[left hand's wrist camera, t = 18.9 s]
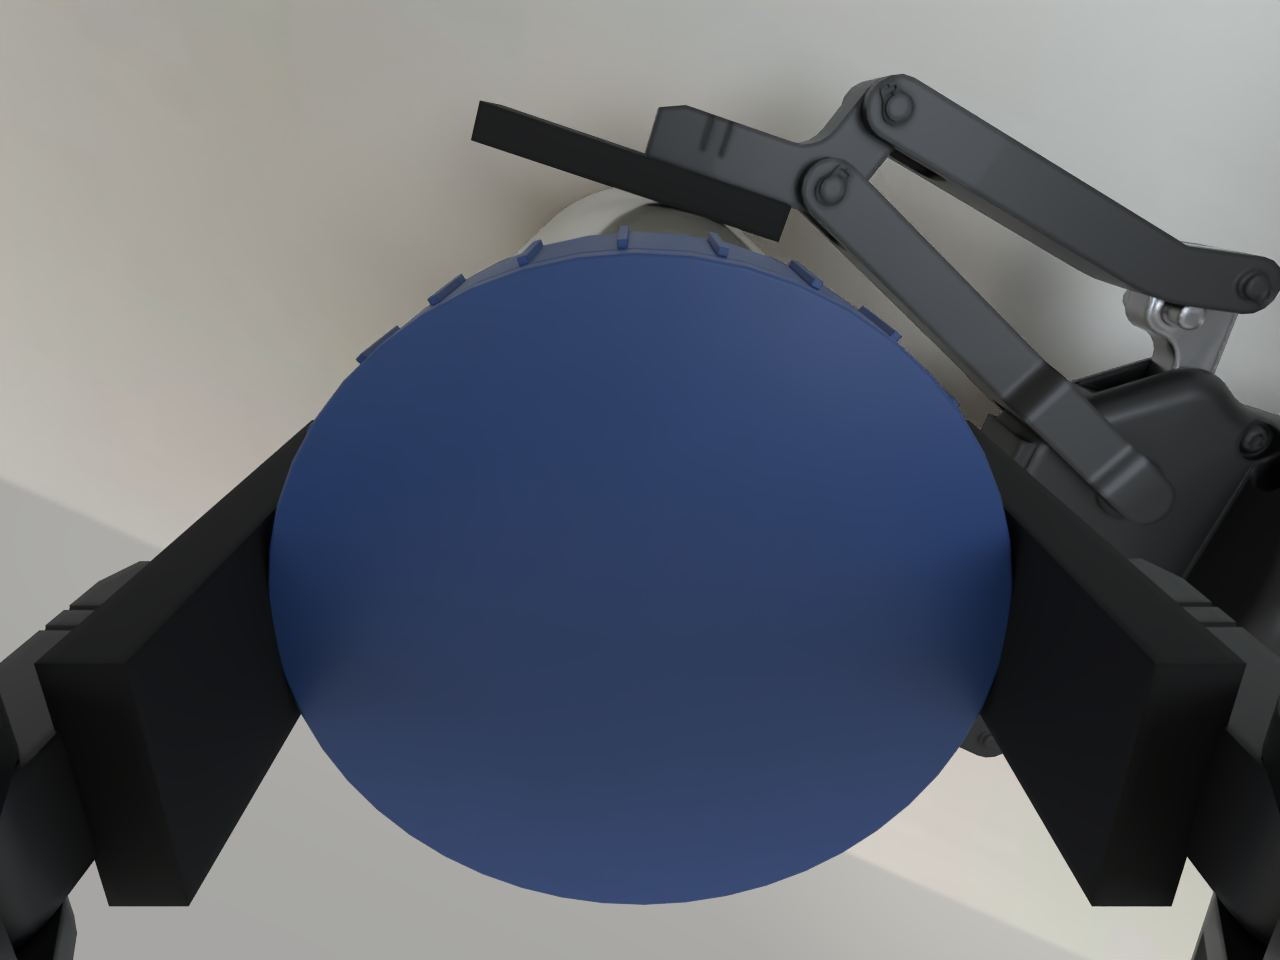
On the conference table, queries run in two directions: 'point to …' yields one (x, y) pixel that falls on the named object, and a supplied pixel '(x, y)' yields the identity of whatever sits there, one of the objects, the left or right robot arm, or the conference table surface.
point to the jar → (631, 220)
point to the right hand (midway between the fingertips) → (442, 319)
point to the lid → (640, 571)
